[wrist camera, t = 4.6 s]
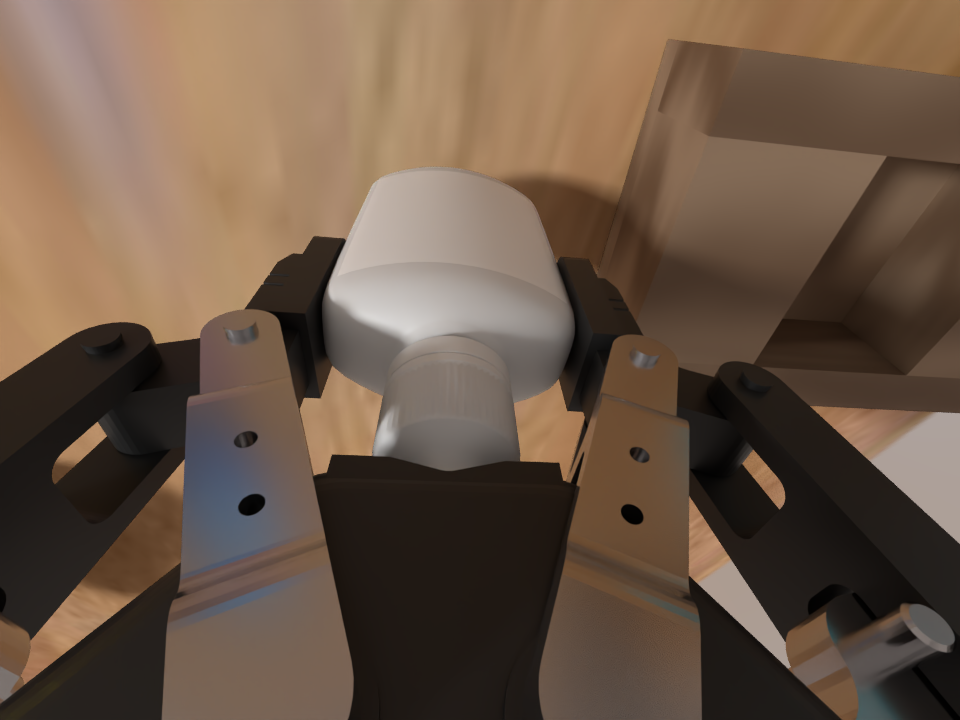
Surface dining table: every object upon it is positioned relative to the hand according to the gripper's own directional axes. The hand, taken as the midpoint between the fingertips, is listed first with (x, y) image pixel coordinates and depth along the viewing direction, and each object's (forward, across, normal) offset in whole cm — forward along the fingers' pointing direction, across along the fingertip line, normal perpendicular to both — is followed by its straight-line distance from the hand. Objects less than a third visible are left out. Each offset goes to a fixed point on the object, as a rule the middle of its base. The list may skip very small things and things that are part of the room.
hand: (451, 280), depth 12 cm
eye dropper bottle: (+5, 0, 0) cm, 5 cm away
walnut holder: (+8, -16, 0) cm, 18 cm away
